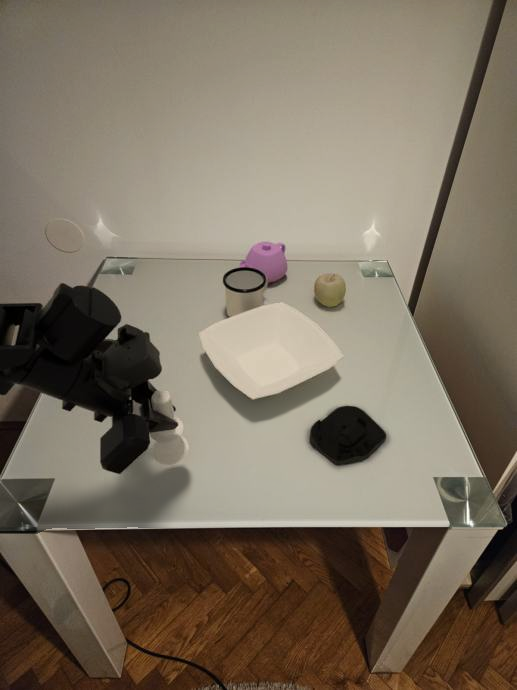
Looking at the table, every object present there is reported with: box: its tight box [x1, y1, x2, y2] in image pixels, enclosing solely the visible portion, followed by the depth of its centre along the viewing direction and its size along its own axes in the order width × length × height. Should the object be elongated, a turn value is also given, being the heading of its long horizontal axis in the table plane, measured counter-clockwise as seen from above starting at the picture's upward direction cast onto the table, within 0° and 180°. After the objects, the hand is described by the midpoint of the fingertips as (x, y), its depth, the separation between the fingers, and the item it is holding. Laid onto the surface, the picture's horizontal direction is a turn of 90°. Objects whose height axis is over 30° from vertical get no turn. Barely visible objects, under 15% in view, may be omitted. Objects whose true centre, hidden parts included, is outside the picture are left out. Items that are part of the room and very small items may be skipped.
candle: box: [149, 390, 190, 466], centre depth 60 cm, size 5×5×12 cm
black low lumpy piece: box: [309, 405, 387, 466], centre depth 72 cm, size 12×10×5 cm
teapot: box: [239, 241, 288, 286], centre depth 107 cm, size 10×15×9 cm
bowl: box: [198, 301, 344, 400], centre depth 85 cm, size 22×23×6 cm
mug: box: [222, 266, 268, 318], centre depth 97 cm, size 12×10×9 cm
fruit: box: [313, 273, 347, 308], centre depth 100 cm, size 8×7×8 cm
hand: (175, 418), depth 60 cm, fingers closed on candle, 2 cm apart
